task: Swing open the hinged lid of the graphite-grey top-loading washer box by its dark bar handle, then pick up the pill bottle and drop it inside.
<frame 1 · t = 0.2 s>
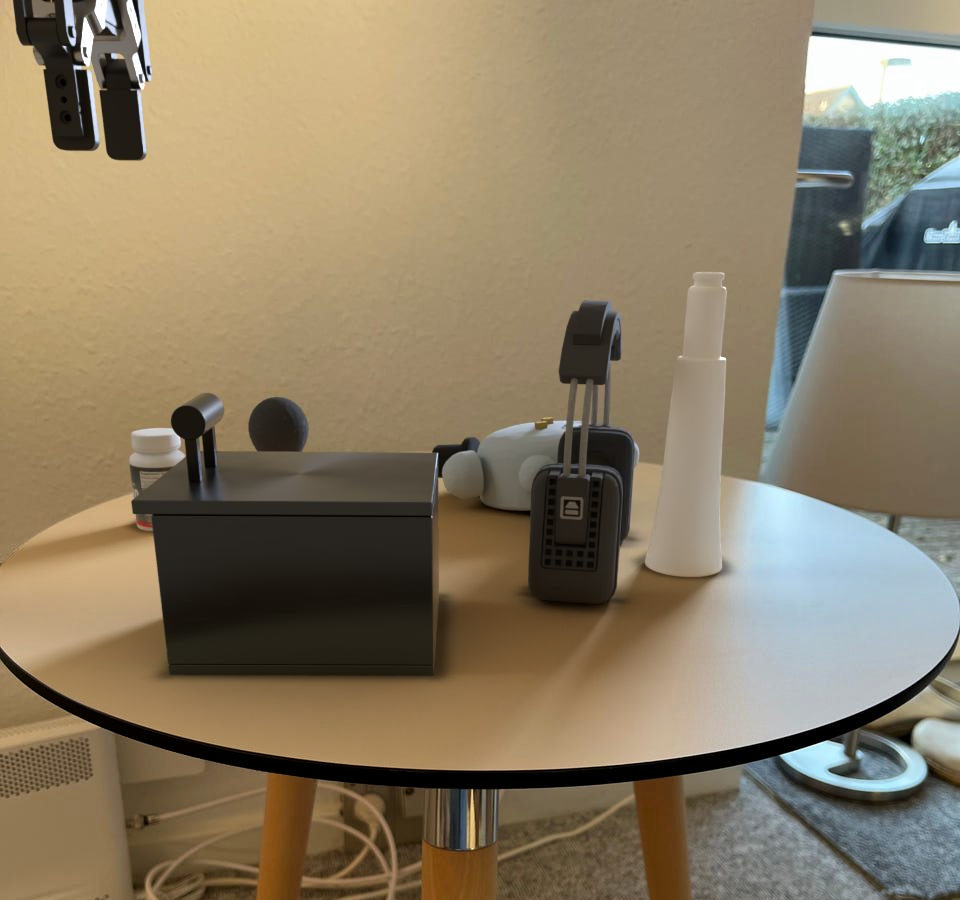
hand: (104, 155, 57), 28 cm above the table, tool pointing down, fingers open, 8 cm apart
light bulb: (283, 503, 99), on the table
cosmetic bottle: (682, 568, 81), on the table
figurine: (529, 502, 100), on the table
pill bottle: (165, 528, 90), on the table
headphones: (582, 568, 81), on the table
washer lid: (298, 443, 62), point 12 cm above the table, hinge at 0.0°
washer: (317, 635, 66), on the table
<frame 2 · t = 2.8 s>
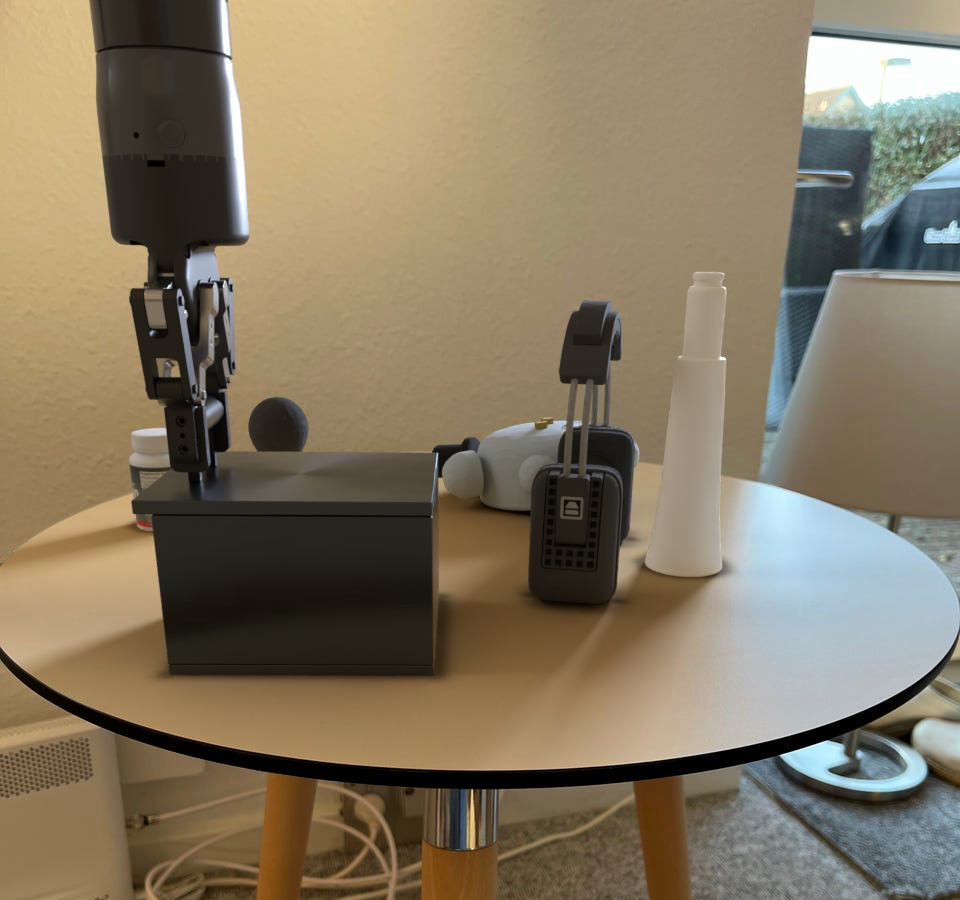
hand: (202, 459, 62), 12 cm above the table, tool pointing down, fingers closed on washer lid, 5 cm apart
washer lid: (298, 443, 62), point 12 cm above the table, hinge at 0.0°, touching gripper
everything else where it was.
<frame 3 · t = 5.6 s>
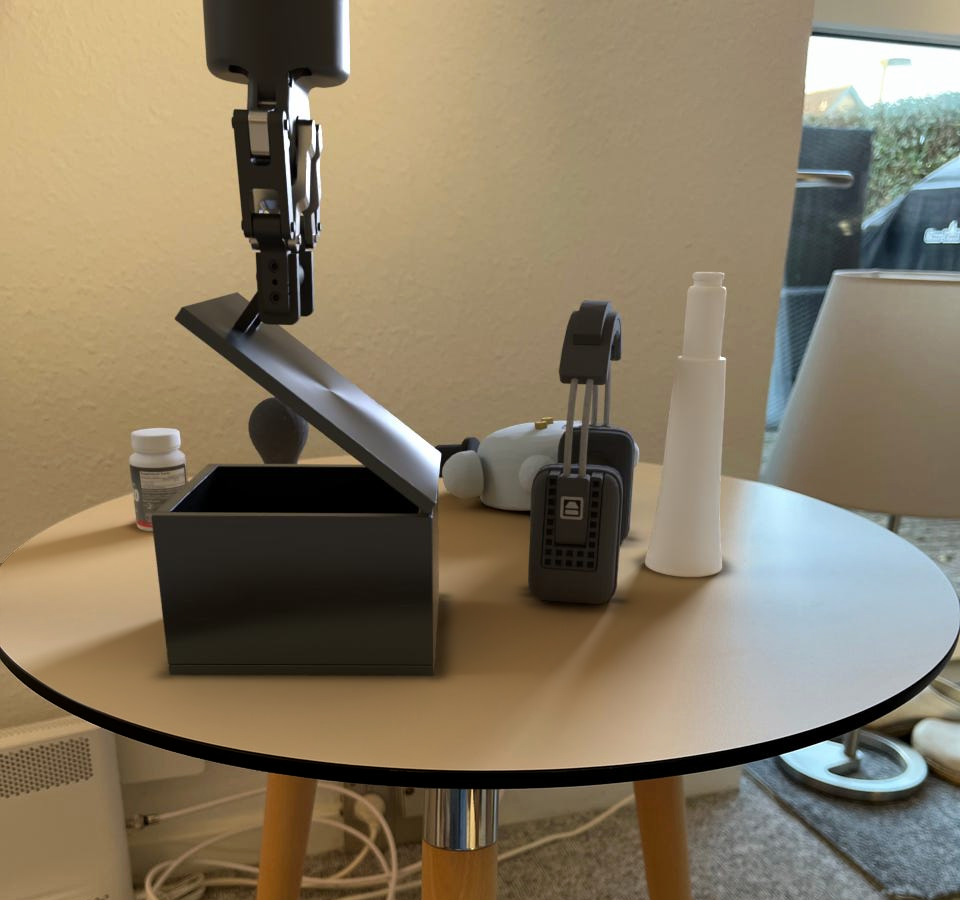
hand: (288, 318, 59), 20 cm above the table, tool pointing down, fingers closed on washer lid, 5 cm apart
washer lid: (348, 365, 60), point 17 cm above the table, hinge at 38.4°, touching gripper
everything else where it was.
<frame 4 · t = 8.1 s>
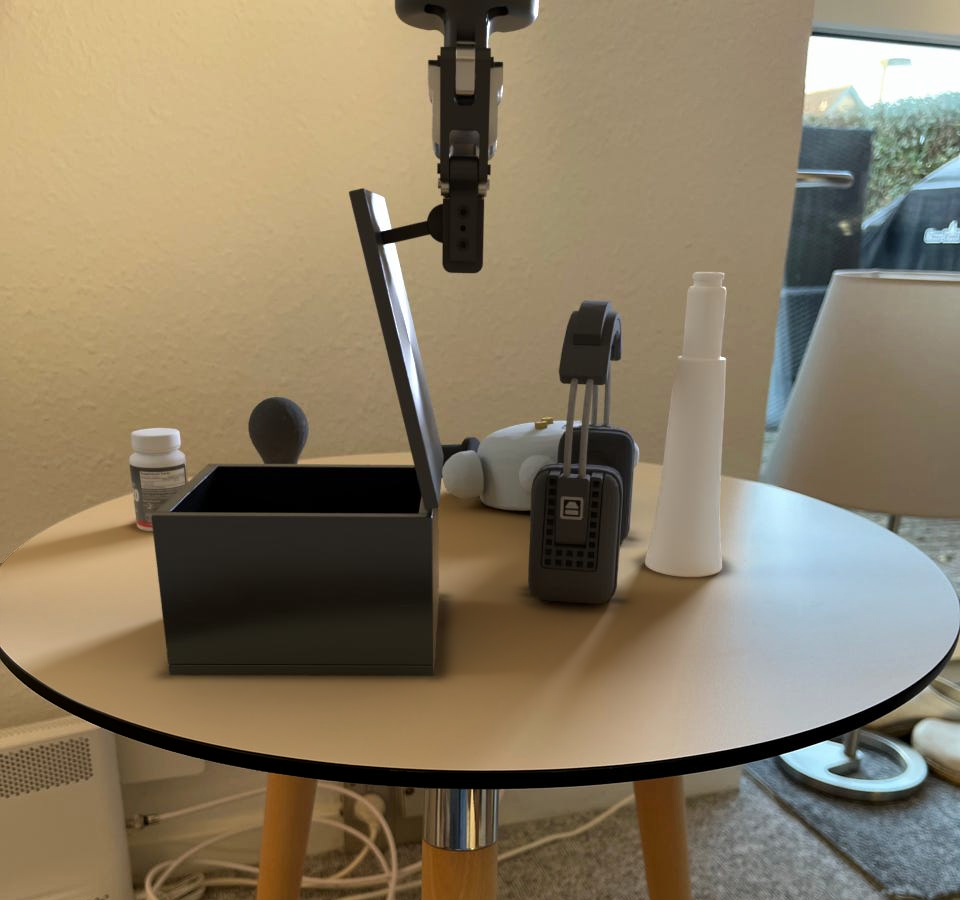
hand: (462, 269, 58), 23 cm above the table, tool pointing down, fingers closed on washer lid, 5 cm apart
washer lid: (440, 336, 59), point 19 cm above the table, hinge at 77.3°, touching gripper
everything else where it was.
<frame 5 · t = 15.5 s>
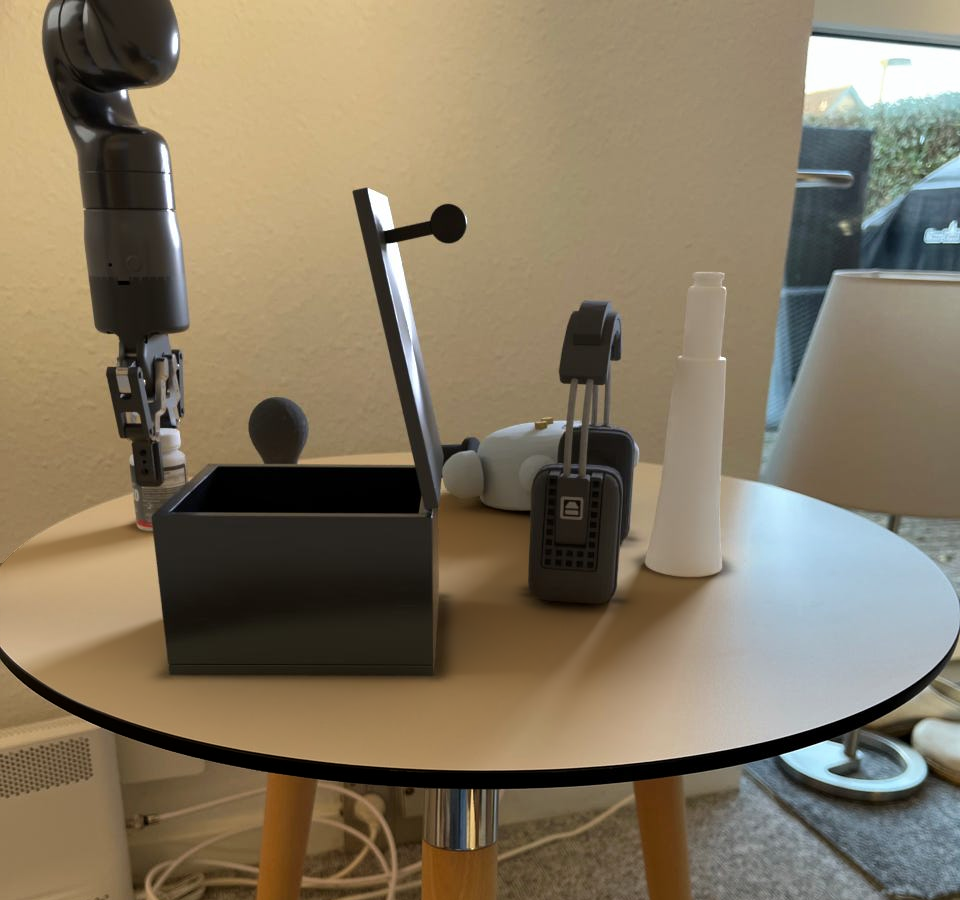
hand: (159, 477, 89), 4 cm above the table, tool pointing down, fingers closed on pill bottle, 4 cm apart
pill bottle: (165, 528, 90), on the table, touching gripper
washer lid: (442, 336, 59), point 19 cm above the table, hinge at 78.0°
everything else where it was.
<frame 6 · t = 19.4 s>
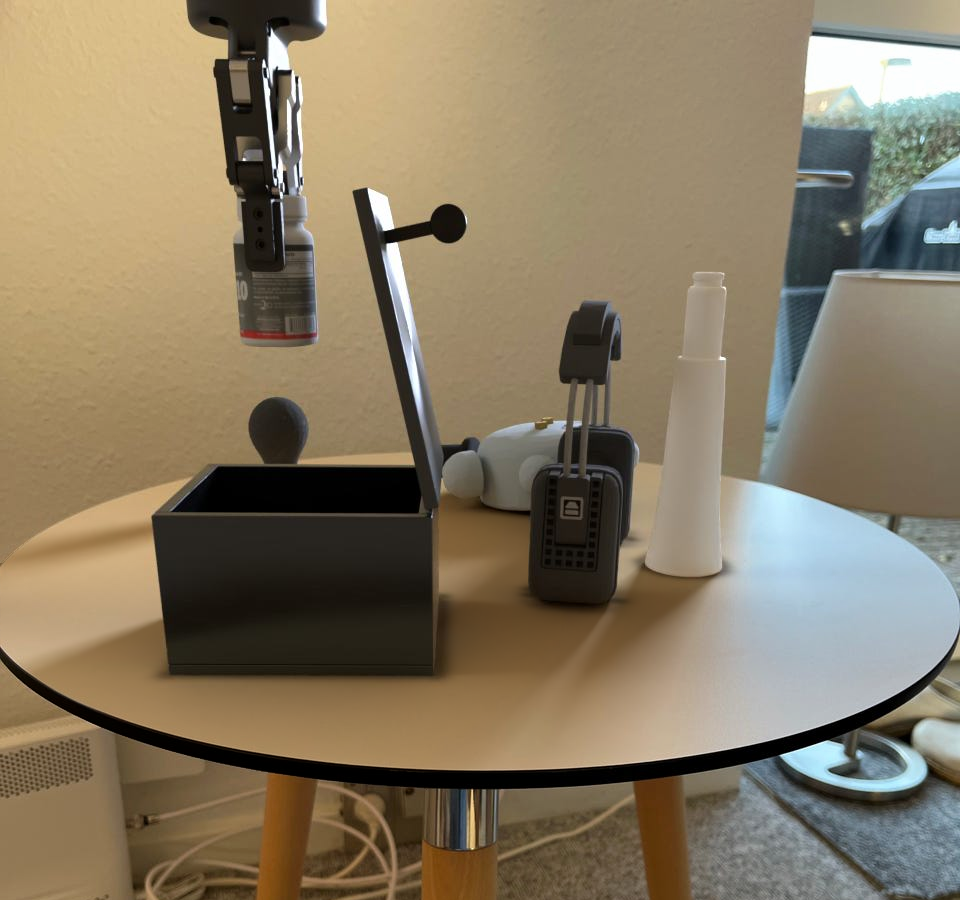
hand: (274, 268, 61), 22 cm above the table, tool pointing down, fingers closed on pill bottle, 4 cm apart
pill bottle: (280, 347, 63), point 18 cm above the table, touching gripper
everything else where it was.
when the fingers open (9 cm above the table, at t = 23.3 s): pill bottle drops 4 cm, resting on washer.
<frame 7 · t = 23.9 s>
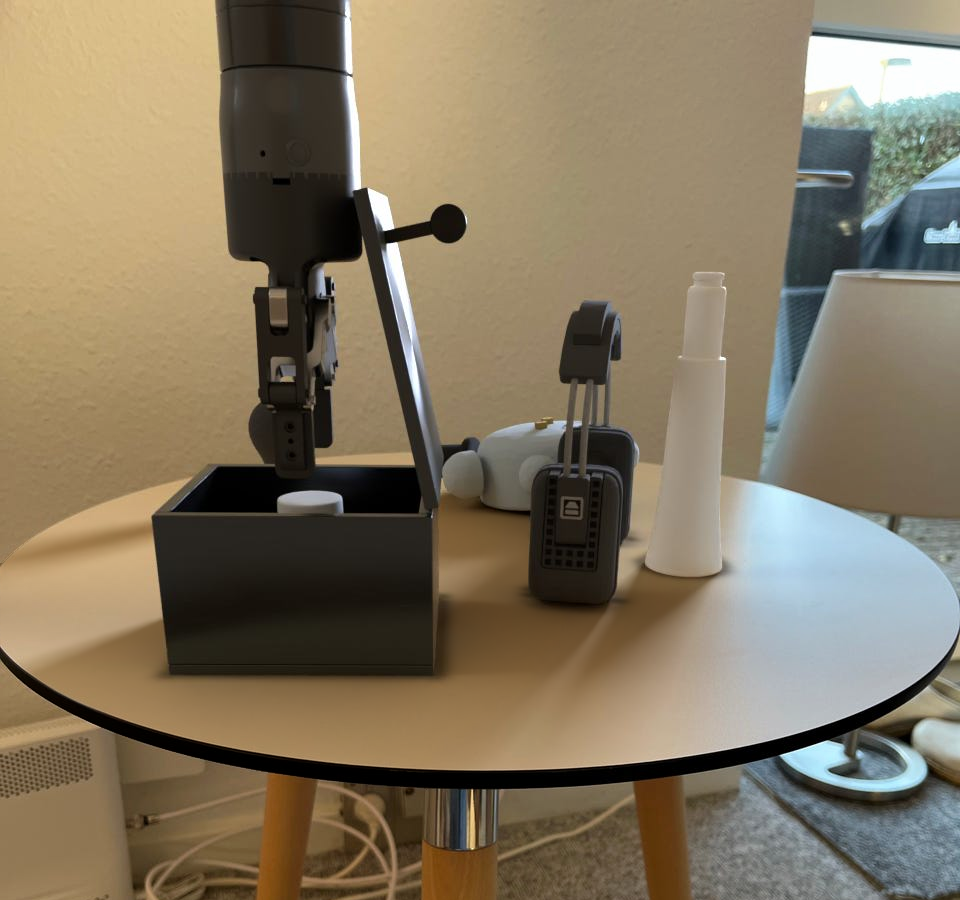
hand: (306, 461, 62), 11 cm above the table, tool pointing down, fingers open, 8 cm apart
pill bottle: (316, 626, 66), point 1 cm above the table, touching washer
everything else where it was.
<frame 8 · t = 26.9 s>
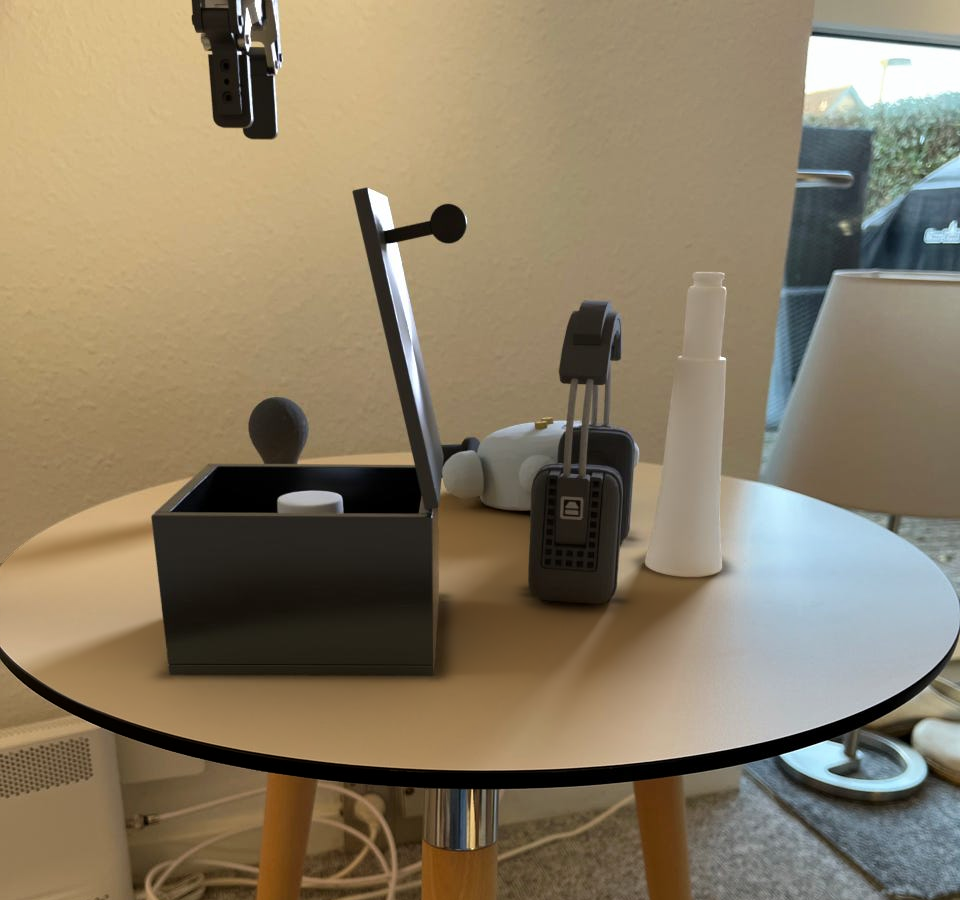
hand: (248, 133, 63), 30 cm above the table, tool pointing down, fingers open, 8 cm apart
nothing on the table moved.
at the end: washer lid at +78° (first picture: +0°); pill bottle inside the target area in the washer (0.1 cm from its centre), point 0.6 cm above the washer's base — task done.
